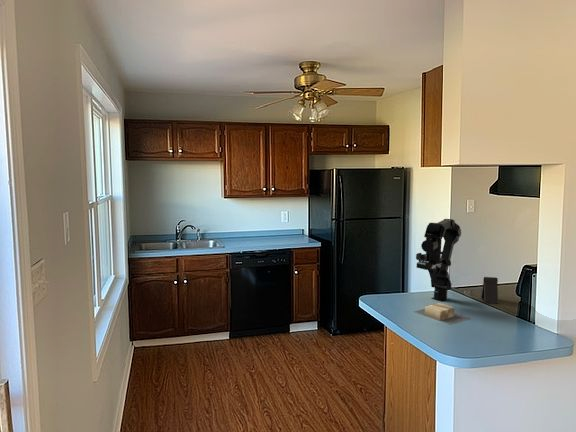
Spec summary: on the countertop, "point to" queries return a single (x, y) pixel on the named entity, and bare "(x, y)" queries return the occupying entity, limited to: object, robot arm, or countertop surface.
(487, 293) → the phone stand
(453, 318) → the mat
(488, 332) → the countertop surface
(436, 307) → the maple block
